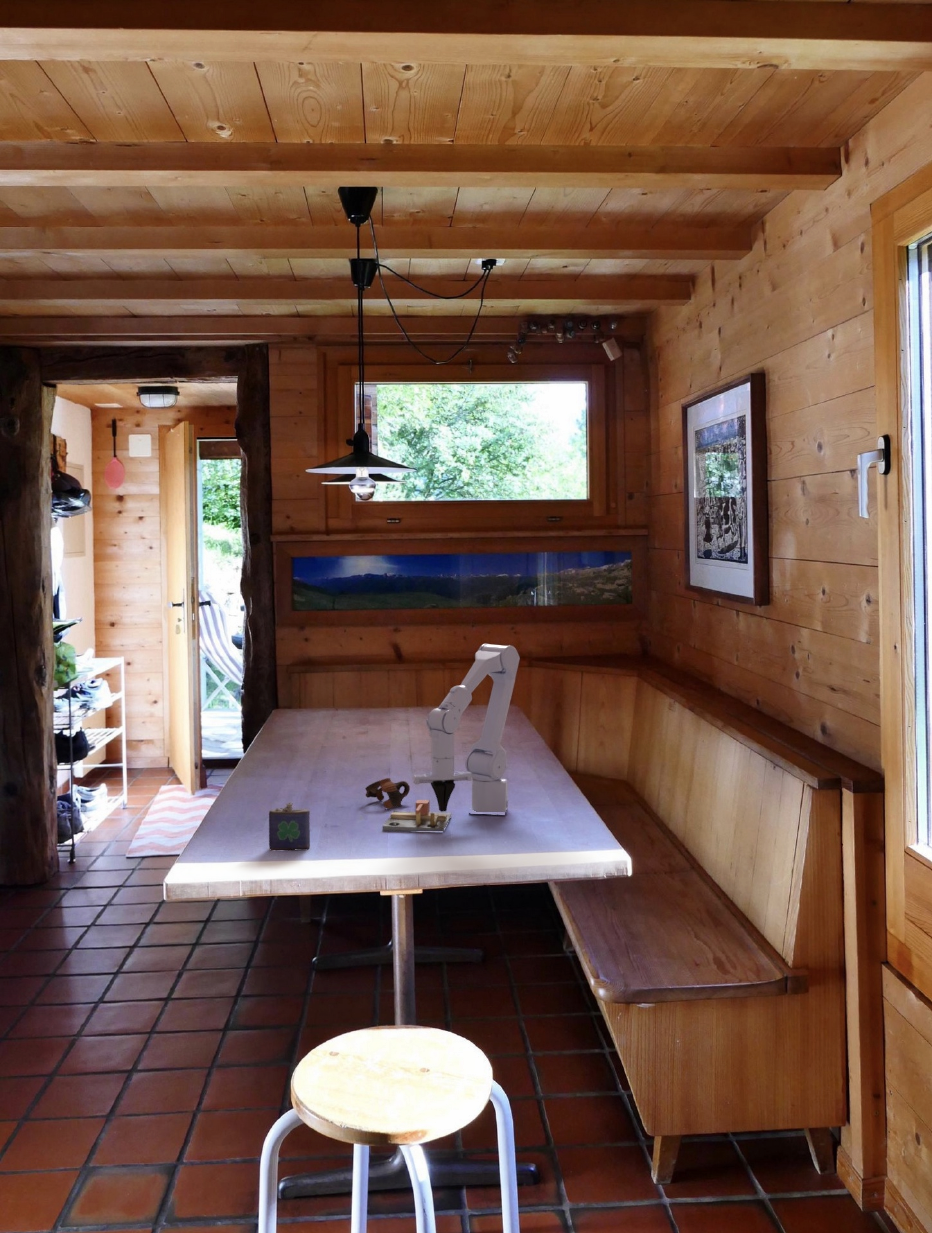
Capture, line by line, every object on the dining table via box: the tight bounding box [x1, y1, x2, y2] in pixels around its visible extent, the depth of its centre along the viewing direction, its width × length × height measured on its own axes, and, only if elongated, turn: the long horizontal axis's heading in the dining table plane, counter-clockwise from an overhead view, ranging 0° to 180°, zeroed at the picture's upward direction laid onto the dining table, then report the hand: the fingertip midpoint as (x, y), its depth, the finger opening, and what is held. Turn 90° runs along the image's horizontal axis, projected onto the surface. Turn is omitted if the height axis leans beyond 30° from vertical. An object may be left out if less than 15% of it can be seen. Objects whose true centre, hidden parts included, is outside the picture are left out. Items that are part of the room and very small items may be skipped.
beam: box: [390, 811, 447, 826], centre depth 235 cm, size 14×7×3 cm, turn 83°
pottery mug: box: [365, 777, 411, 809], centre depth 256 cm, size 12×10×8 cm
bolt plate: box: [382, 810, 453, 832], centre depth 237 cm, size 15×14×1 cm
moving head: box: [414, 799, 431, 824], centre depth 234 cm, size 3×9×4 cm, turn 173°
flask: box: [268, 802, 311, 851], centre depth 216 cm, size 9×3×11 cm, turn 95°
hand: (442, 810), depth 237 cm, fingers closed
